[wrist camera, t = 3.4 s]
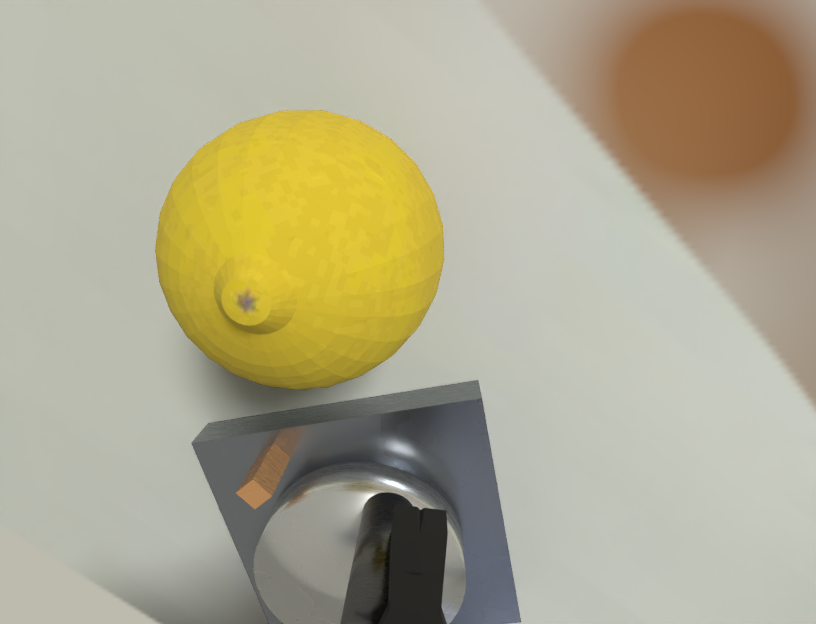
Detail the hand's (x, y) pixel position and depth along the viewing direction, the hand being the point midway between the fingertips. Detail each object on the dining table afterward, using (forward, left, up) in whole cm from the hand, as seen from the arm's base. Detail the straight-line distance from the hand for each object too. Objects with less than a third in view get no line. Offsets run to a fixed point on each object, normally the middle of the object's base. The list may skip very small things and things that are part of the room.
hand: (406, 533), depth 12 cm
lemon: (+8, 0, -4) cm, 9 cm away
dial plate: (-3, +2, -4) cm, 5 cm away
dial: (-3, +2, -3) cm, 4 cm away
